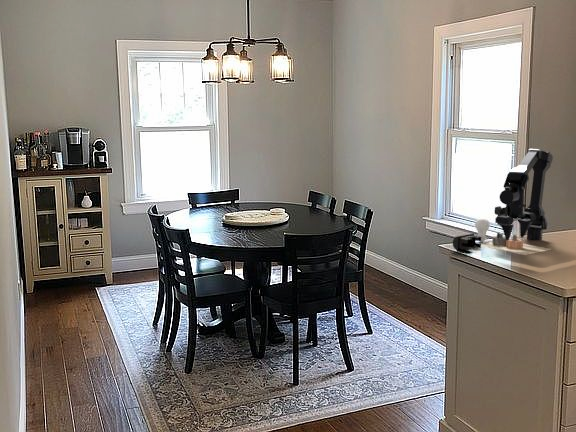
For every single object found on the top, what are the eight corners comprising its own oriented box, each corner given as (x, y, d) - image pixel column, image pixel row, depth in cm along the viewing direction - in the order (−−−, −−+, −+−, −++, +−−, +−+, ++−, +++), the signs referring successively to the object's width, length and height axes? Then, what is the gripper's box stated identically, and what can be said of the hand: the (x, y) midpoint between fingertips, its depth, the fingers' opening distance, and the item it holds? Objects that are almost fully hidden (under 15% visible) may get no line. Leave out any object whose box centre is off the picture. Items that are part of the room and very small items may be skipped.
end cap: (467, 247, 272) (468, 232, 271) (481, 250, 266) (482, 234, 265) (451, 251, 266) (452, 235, 265) (465, 254, 260) (466, 238, 259)
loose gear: (512, 244, 269) (513, 237, 269) (526, 247, 264) (526, 240, 264) (502, 246, 266) (503, 239, 265) (516, 249, 261) (516, 242, 260)
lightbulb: (473, 243, 280) (474, 218, 278) (474, 240, 285) (475, 216, 284) (488, 244, 278) (489, 219, 276) (489, 241, 283) (490, 216, 281)
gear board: (502, 242, 280) (503, 227, 279) (551, 252, 260) (552, 236, 259) (476, 247, 271) (476, 232, 270) (524, 258, 251) (525, 241, 250)
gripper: (514, 197, 273) (512, 233, 276) (485, 201, 263) (483, 238, 266) (537, 200, 264) (535, 237, 267) (507, 204, 254) (506, 242, 257)
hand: (514, 238), depth 264 cm, fingers open, 9 cm apart
